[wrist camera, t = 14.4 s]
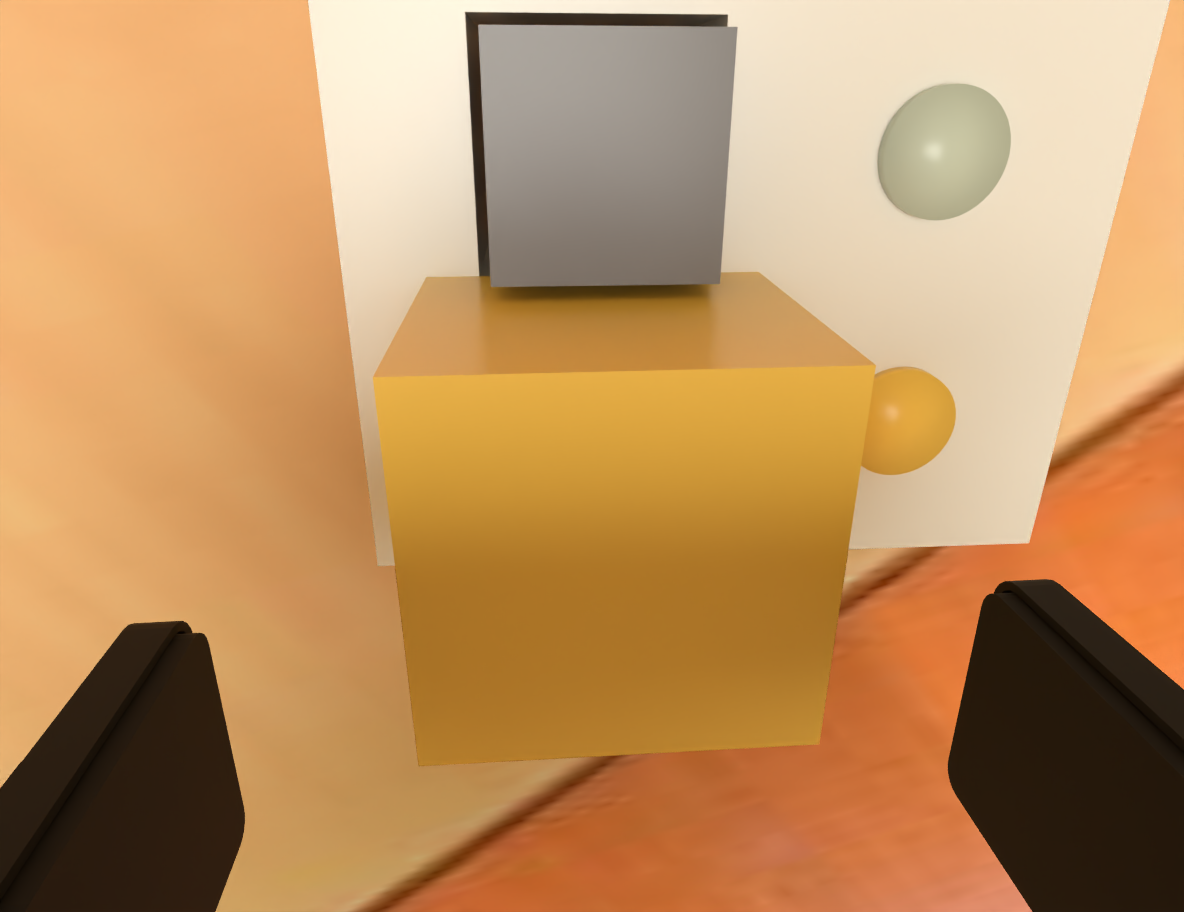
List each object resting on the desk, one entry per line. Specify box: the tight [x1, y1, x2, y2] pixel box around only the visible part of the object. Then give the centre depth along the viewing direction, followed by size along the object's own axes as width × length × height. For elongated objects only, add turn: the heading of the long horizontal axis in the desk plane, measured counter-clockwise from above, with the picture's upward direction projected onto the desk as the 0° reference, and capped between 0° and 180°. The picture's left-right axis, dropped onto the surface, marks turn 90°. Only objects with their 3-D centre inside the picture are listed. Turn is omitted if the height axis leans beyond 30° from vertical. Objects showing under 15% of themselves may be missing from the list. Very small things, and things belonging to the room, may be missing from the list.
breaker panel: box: [308, 0, 1170, 566], centre depth 17 cm, size 11×14×5 cm
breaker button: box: [478, 25, 738, 287], centre depth 14 cm, size 4×4×4 cm
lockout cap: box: [373, 272, 876, 766], centre depth 13 cm, size 6×6×6 cm
